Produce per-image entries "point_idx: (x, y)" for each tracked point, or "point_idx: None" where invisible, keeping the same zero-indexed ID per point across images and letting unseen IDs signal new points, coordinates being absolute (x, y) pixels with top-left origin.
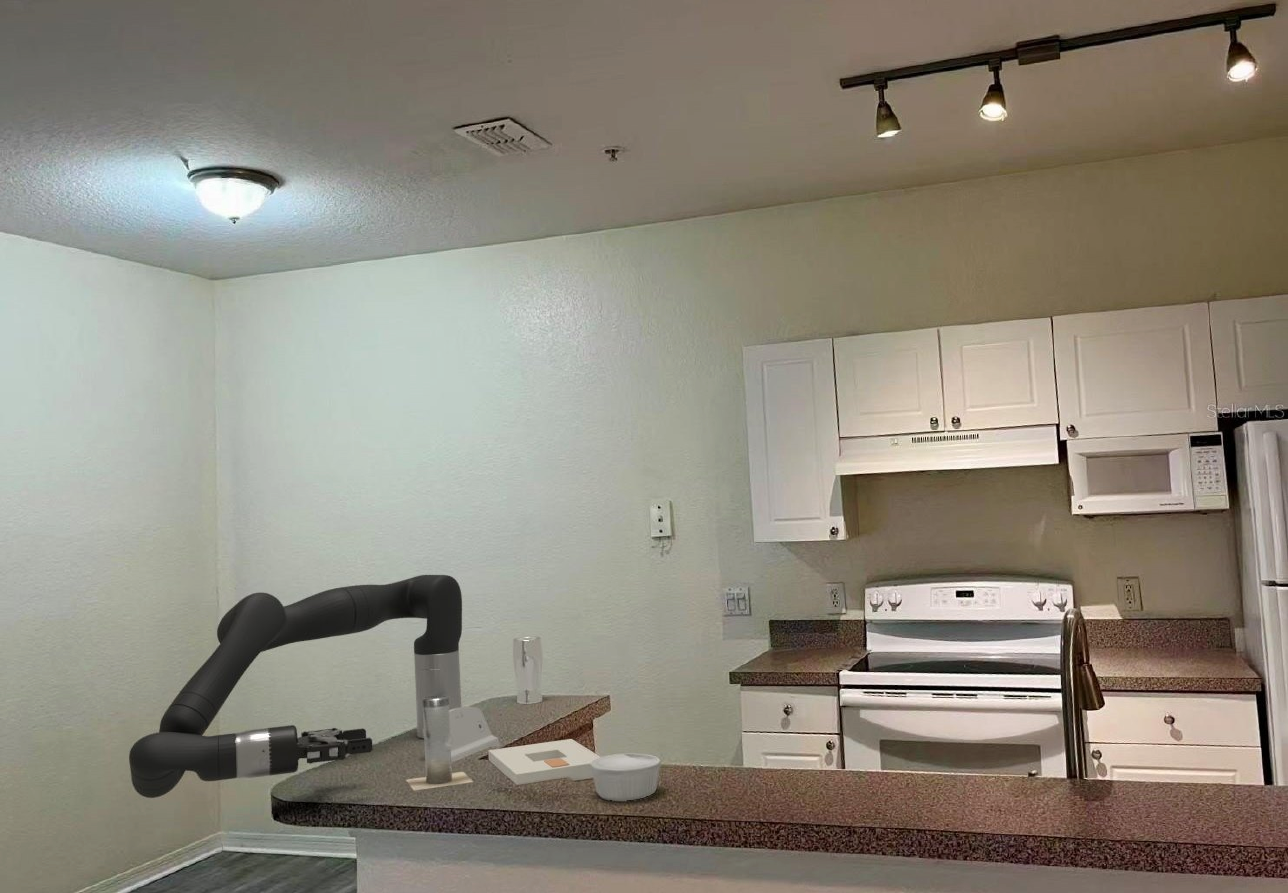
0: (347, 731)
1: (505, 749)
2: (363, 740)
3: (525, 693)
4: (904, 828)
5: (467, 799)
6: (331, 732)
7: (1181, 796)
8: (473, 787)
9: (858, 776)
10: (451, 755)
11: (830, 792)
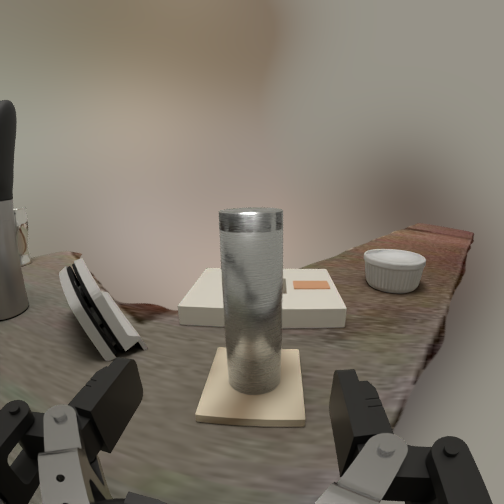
0: (99, 401)
1: (193, 297)
2: (360, 390)
3: (21, 256)
4: (467, 250)
5: (371, 367)
6: (83, 458)
7: (427, 227)
8: (301, 356)
9: (382, 242)
10: (135, 332)
11: (410, 249)
